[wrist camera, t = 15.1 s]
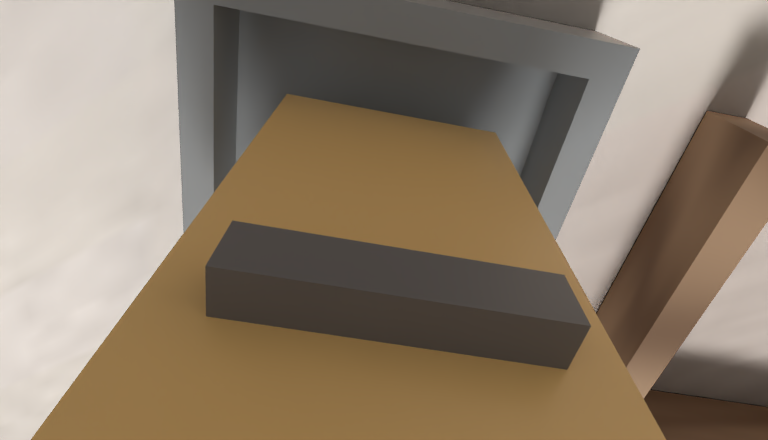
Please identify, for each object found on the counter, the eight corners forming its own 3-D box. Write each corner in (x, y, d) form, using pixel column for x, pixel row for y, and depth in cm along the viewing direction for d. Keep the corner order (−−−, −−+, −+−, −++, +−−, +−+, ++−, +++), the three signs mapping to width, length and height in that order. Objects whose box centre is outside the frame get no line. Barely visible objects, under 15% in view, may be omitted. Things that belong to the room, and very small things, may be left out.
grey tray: (214, -48, 11) (172, -48, 9) (596, 31, 12) (639, 48, 10) (214, 352, 18) (190, 406, 16) (457, 386, 19) (466, 443, 17)
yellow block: (288, 67, 10) (-206, 628, 2) (503, 108, 11) (935, 735, 2) (265, 363, 15) (97, 906, 7) (414, 384, 16) (441, 923, 7)
